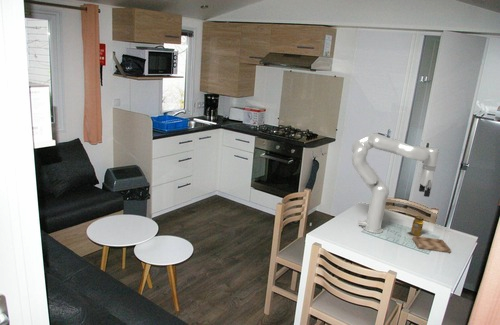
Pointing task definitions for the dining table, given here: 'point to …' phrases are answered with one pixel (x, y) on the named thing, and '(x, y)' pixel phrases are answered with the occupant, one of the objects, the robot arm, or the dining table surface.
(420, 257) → the dining table surface
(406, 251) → the dining table surface
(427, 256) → the dining table surface
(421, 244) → the serving tray
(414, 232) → the condiment
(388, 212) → the dining table surface
